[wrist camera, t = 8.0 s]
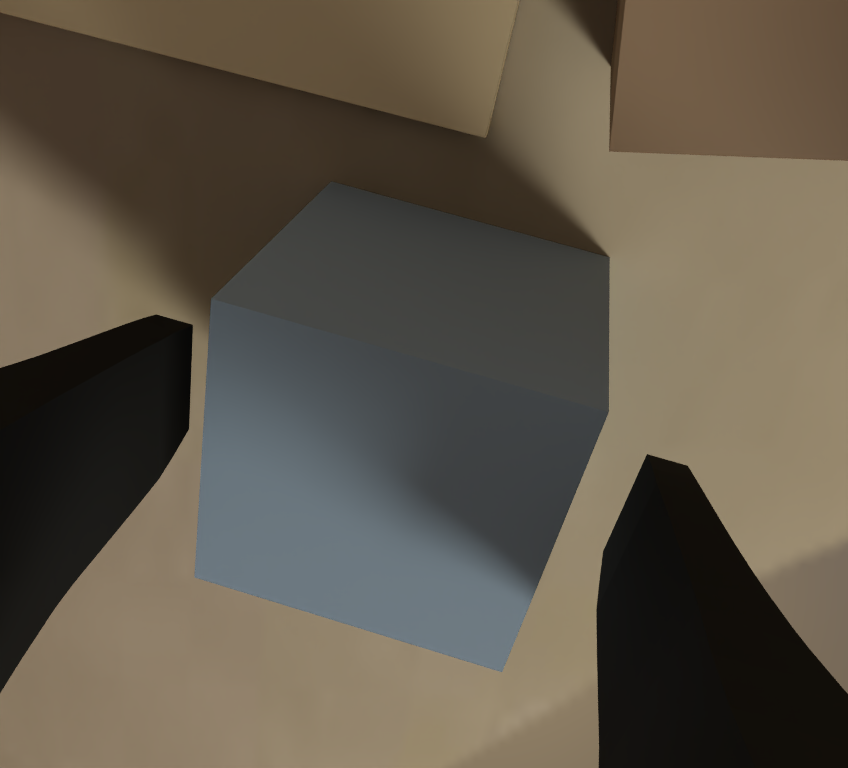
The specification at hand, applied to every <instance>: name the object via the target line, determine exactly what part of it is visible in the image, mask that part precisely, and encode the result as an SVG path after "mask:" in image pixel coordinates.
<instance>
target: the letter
mask: <svg viewBox="0 0 848 768" xmlns="http://www.w3.org/2000/svg"><path fill="white" fill-rule="evenodd" d="M519 2H520V0H0V13H4V14H8V15H11V16H15V17H19V18H23V19H27V20H31V21H35V22H38V23H42V24H46V25H50V26H54V27H58V28H62V29H66V30H69V31H73V32H77V33H81V34H85V35H89V36H93V37H96V38H100V39H104V40H108V41H112V42H116V43H120V44H124V45H127V46H131V47H135V48H139V49H143V50H147V51H151V52H155V53H158V54H162V55H166V56H170V57H174V58H178V59H182V60H185V61H189V62H193V63H197V64H201V65H205V66H209V67H213V68H216V69H220V70H224V71H228V72H232V73H236V74H240V75H244V76H247V77H251V78H255V79H259V80H263V81H267V82H271V83H274V84H278V85H282V86H286V87H290V88H294V89H298V90H302V91H305V92H309V93H313V94H317V95H321V96H325V97H329V98H332V99H336V100H340V101H344V102H348V103H352V104H356V105H360V106H363V107H367V108H371V109H375V110H379V111H383V112H387V113H391V114H394V115H398V116H402V117H406V118H410V119H414V120H418V121H421V122H425V123H429V124H433V125H437V126H441V127H445V128H449V129H452V130H456V131H460V132H464V133H468V134H472V135H476V136H479V137H483V138H486V136H487V134H488V131H489V127H490V123H491V119H492V115H493V110H494V106H495V102H496V98H497V94H498V89H499V85H500V81H501V77H502V73H503V69H504V64H505V60H506V56H507V52H508V48H509V43H510V39H511V35H512V31H513V27H514V23H515V18H516V14H517V10H518V6H519Z"/></svg>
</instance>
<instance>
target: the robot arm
mask: <svg viewBox="0 0 848 768" xmlns="http://www.w3.org/2000/svg"><path fill="white" fill-rule="evenodd" d="M192 333H193V325H191V324H188V323H184V322H181V321H177V320H174V319H170V318H167V317H163V316H160V315H153V316H149V317H146V318H142V319H139V320H136V321H133V322H130V323H128V324H125V325H122V326H119V327H116V328H114V329H111V330H108V331H105V332H103V333H100V334H97V335H95V336H92V337H89V338H87V339H84V340H81V341H78V342H75V343H73V344H70V345H67V346H64V347H62V348H59V349H56V350H53V351H51V352H48V353H45V354H42V355H39V356H37V357H34V358H30V359H27V360H24V361H21V362H18V363H15V364H12V365H8V366H5V367H2V368H0V693H1V691H2V689H3V688H4V686H5V685H6V683H7V681H8V680H9V678H10V676H11V675H12V673H13V672H14V670H15V668H16V667H17V665H18V664H19V662H20V660H21V659H22V657H23V656H24V654H25V653H26V651H27V650H28V648H29V647H30V645H31V644H32V642H33V641H34V639H35V638H36V636H37V635H38V633H39V632H40V630H41V629H42V627H43V626H44V624H45V622H46V621H47V619H48V618H49V616H50V615H51V613H52V612H53V610H54V609H55V607H56V606H57V605H58V603H59V602H60V601H61V599H62V598H63V597H64V595H65V594H66V593H67V591H68V590H69V589H70V587H71V586H72V585H73V583H74V582H75V581H76V580H77V578H78V577H79V576H80V575H81V574H82V572H83V571H84V570H85V569H86V568H87V566H88V565H89V564H90V563H91V561H92V560H93V559H94V558H95V557H96V555H97V554H98V553H99V552H100V551H101V549H102V548H103V547H104V546H105V544H106V543H107V542H108V541H109V540H110V538H111V537H112V536H113V535H114V534H115V532H116V531H117V530H118V529H119V528H120V526H121V525H122V524H123V523H124V521H125V520H126V519H127V518H128V517H129V515H130V514H131V513H132V512H133V510H134V509H135V508H136V507H137V506H138V504H139V503H140V502H141V501H142V499H143V498H144V497H145V496H146V494H147V493H148V492H149V491H150V489H151V488H152V487H153V486H154V484H155V483H156V482H157V481H158V479H159V478H160V476H161V475H162V473H163V472H164V470H165V468H166V467H167V465H168V464H169V462H170V460H171V459H172V457H173V456H174V454H175V452H176V450H177V449H178V447H179V445H180V443H181V442H182V440H183V438H184V437H185V435H186V433H187V431H188V430H189V414H190V387H191V360H192ZM597 670H598V713H599V768H848V694H847V693H846V691H845V690H844V689H843V688H842V687H841V686H840V685H839V683H838V682H837V681H836V680H835V679H834V677H833V676H832V675H831V674H830V673H829V672H828V670H827V669H826V668H825V667H824V666H823V665H822V663H821V662H820V661H819V660H818V659H817V657H816V656H815V655H814V654H813V653H812V652H811V650H810V649H809V648H808V647H807V645H806V644H805V643H804V642H803V640H802V639H801V638H800V637H799V635H798V634H797V633H796V632H795V630H794V629H793V628H792V626H791V625H790V623H789V622H788V621H787V619H786V618H785V617H784V615H783V614H782V612H781V611H780V610H779V609H778V607H777V606H776V604H775V603H774V602H773V600H772V599H771V598H770V596H769V595H768V593H767V592H766V590H765V589H764V588H763V586H762V585H761V583H760V582H759V580H758V579H757V577H756V576H755V574H754V573H753V571H752V570H751V568H750V567H749V565H748V564H747V562H746V561H745V559H744V558H743V556H742V554H741V553H740V551H739V550H738V548H737V547H736V545H735V543H734V542H733V540H732V539H731V537H730V535H729V534H728V532H727V530H726V529H725V527H724V526H723V524H722V522H721V521H720V519H719V517H718V516H717V514H716V512H715V511H714V509H713V507H712V506H711V504H710V502H709V500H708V499H707V497H706V495H705V494H704V492H703V490H702V489H701V487H700V485H699V484H698V482H697V480H696V479H695V477H694V475H693V474H692V472H691V470H690V469H689V467H688V466H686V465H683V464H679V463H676V462H672V461H669V460H665V459H662V458H658V457H655V456H651V455H648V454H647V456H646V458H645V460H644V462H643V464H642V467H641V469H640V471H639V473H638V476H637V478H636V480H635V482H634V484H633V487H632V489H631V491H630V493H629V495H628V498H627V500H626V502H625V504H624V507H623V509H622V511H621V513H620V515H619V518H618V520H617V522H616V524H615V526H614V529H613V531H612V533H611V535H610V537H609V540H608V542H607V544H606V546H605V549H604V551H603V558H602V566H601V574H600V582H599V591H598V601H597Z"/></svg>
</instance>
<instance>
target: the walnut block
mask: <svg viewBox="0 0 848 768" xmlns="http://www.w3.org/2000/svg"><path fill="white" fill-rule="evenodd" d="M609 151H613V152H639V153H664V154H690V155H716V156H742V157H767V158H793V159H819V160H844V161H848V0H618V1H617V11H616V21H615V31H614V40H613V50H612V60H611V86H610V144H609Z"/></svg>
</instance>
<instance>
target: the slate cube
mask: <svg viewBox="0 0 848 768" xmlns="http://www.w3.org/2000/svg"><path fill="white" fill-rule="evenodd" d="M609 261H610V257H607V256H603V255H599V254H596V253H592V252H588V251H585V250H581V249H577V248H574V247H570V246H566V245H563V244H559V243H555V242H552V241H548V240H544V239H541V238H537V237H533V236H530V235H526V234H522V233H519V232H515V231H511V230H508V229H504V228H500V227H497V226H493V225H489V224H486V223H482V222H478V221H475V220H471V219H467V218H464V217H460V216H456V215H453V214H449V213H445V212H442V211H438V210H434V209H431V208H427V207H423V206H420V205H416V204H412V203H409V202H405V201H401V200H398V199H394V198H390V197H387V196H383V195H379V194H376V193H372V192H368V191H365V190H361V189H357V188H354V187H350V186H346V185H343V184H339V183H335V182H332V181H331V182H330V183H329V184H328V185H327V186H326V187H325V188H324V189H323V190H322V191H321V192H320V193H319V194H318V195H317V196H316V197H315V198H314V199H313V200H312V201H311V202H310V203H309V204H308V205H306V206H305V207H304V208H303V209H302V210H301V211H300V212H299V213H298V214H297V215H296V216H295V217H294V218H293V219H292V220H291V221H290V222H289V223H288V224H287V225H286V226H285V227H284V228H283V229H282V230H281V231H280V232H279V233H278V234H277V235H276V236H275V237H274V238H273V239H272V240H271V241H270V242H269V243H268V244H267V245H266V246H265V247H264V248H262V249H261V250H260V251H259V252H258V253H257V254H256V255H255V256H254V257H253V258H252V259H251V260H250V261H249V262H248V263H247V264H246V265H245V266H244V267H243V268H242V269H241V270H240V271H239V272H238V273H237V274H236V275H235V276H234V277H233V278H232V279H231V280H230V281H229V282H228V283H227V284H226V285H225V286H224V287H223V288H222V289H221V290H220V291H218V292H217V293H216V294H215V295H214V296H213V297H212V298H211V309H210V326H209V343H208V360H207V376H206V393H205V410H204V427H203V444H202V461H201V477H200V494H199V511H198V528H197V545H196V562H195V578H199V579H202V580H205V581H208V582H211V583H215V584H218V585H221V586H224V587H228V588H231V589H234V590H237V591H241V592H244V593H247V594H250V595H254V596H257V597H260V598H263V599H267V600H270V601H273V602H276V603H280V604H283V605H286V606H289V607H292V608H296V609H299V610H302V611H305V612H309V613H312V614H315V615H318V616H322V617H325V618H328V619H331V620H335V621H338V622H341V623H344V624H348V625H351V626H354V627H357V628H361V629H364V630H367V631H370V632H373V633H377V634H380V635H383V636H386V637H390V638H393V639H396V640H399V641H403V642H406V643H409V644H412V645H416V646H419V647H422V648H425V649H429V650H432V651H435V652H438V653H442V654H445V655H448V656H451V657H454V658H458V659H461V660H464V661H467V662H471V663H474V664H477V665H480V666H484V667H487V668H490V669H493V670H497V671H500V672H502V671H503V668H504V666H505V664H506V661H507V659H508V656H509V654H510V651H511V649H512V646H513V644H514V642H515V639H516V637H517V634H518V632H519V629H520V627H521V625H522V622H523V620H524V617H525V615H526V612H527V610H528V607H529V605H530V603H531V600H532V598H533V595H534V593H535V590H536V588H537V586H538V583H539V581H540V578H541V576H542V573H543V571H544V568H545V566H546V564H547V561H548V559H549V556H550V554H551V551H552V549H553V547H554V544H555V542H556V539H557V537H558V534H559V532H560V529H561V527H562V525H563V522H564V520H565V517H566V515H567V512H568V510H569V508H570V505H571V503H572V500H573V498H574V495H575V493H576V490H577V488H578V486H579V483H580V481H581V478H582V476H583V473H584V471H585V468H586V466H587V464H588V461H589V459H590V456H591V454H592V451H593V449H594V447H595V444H596V442H597V439H598V437H599V434H600V432H601V429H602V427H603V425H604V422H605V420H606V417H607V415H608V412H609Z"/></svg>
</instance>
